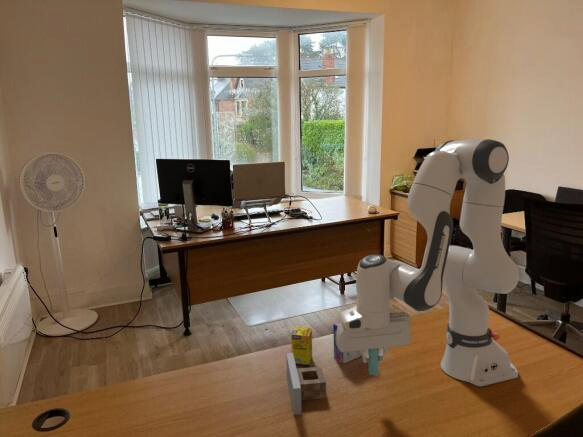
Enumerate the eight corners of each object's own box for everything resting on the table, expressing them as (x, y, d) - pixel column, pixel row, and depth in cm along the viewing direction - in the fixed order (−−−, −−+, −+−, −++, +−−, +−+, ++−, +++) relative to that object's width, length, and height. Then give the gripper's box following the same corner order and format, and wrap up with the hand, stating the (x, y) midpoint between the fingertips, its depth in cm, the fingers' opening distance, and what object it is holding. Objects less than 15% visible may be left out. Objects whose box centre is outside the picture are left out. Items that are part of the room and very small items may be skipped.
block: (320, 381, 131) (320, 366, 130) (326, 397, 124) (326, 382, 123) (294, 383, 131) (294, 368, 129) (298, 400, 123) (298, 384, 122)
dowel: (376, 368, 122) (376, 340, 120) (380, 374, 119) (379, 345, 117) (367, 370, 122) (366, 341, 120) (370, 375, 119) (369, 346, 117)
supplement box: (309, 367, 139) (309, 336, 137) (291, 365, 140) (290, 334, 138) (312, 357, 145) (312, 327, 142) (295, 355, 146) (294, 326, 144)
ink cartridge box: (354, 348, 150) (355, 309, 147) (365, 354, 146) (366, 315, 143) (332, 357, 145) (332, 317, 142) (343, 364, 140) (343, 323, 137)
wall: (293, 376, 134) (292, 352, 133) (301, 414, 117) (300, 388, 115) (286, 376, 134) (286, 353, 132) (293, 414, 117) (293, 388, 115)
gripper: (406, 306, 120) (405, 350, 124) (333, 313, 118) (335, 358, 122) (415, 316, 114) (414, 362, 118) (339, 324, 112) (340, 371, 116)
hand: (373, 360), depth 120 cm, fingers closed on dowel, 3 cm apart
